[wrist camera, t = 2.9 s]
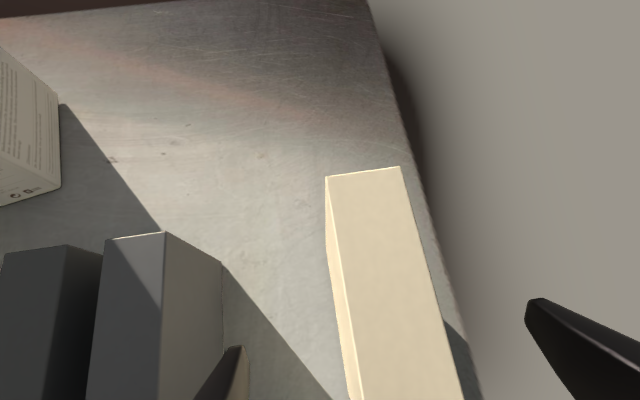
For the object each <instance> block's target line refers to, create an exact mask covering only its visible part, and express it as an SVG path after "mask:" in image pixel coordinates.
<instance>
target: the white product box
mask: <svg viewBox="0 0 640 400" xmlns="http://www.w3.org/2000/svg"><path fill="white" fill-rule="evenodd" d="M60 187H61V172H60V144H59V118H58V95H57V93H56V92H55V91H54V90H52V89H51V88H50V87H49V86H48V85H46V84H45V83H44V82H43V81H41V80H40V79H39V78H38V77H37V76H35V75H34V74H33V73H32V72H30V71H29V70H28V69H27V68H26V67H24V66H23V65H22V64H21V63H20V62H19V61H17V60H16V59H15V58H14V57H12V56H11V55H10V54H9V53H7V52H6V51H5V50H4V49H3V48H1V47H0V207H1V206H4V205H7V204H10V203H14V202H17V201H20V200H23V199H26V198H30V197H33V196H36V195H39V194H42V193H46V192H49V191H52V190H55V189H58V188H60Z"/></svg>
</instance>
